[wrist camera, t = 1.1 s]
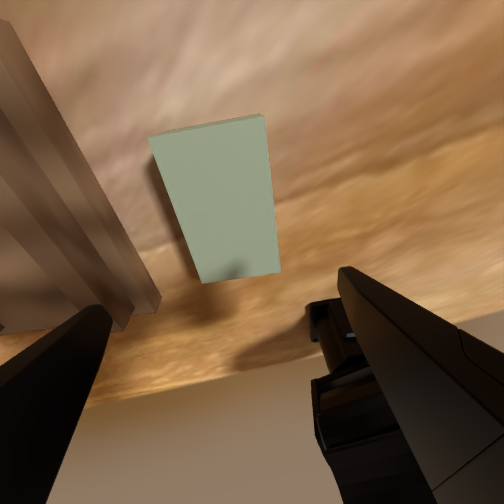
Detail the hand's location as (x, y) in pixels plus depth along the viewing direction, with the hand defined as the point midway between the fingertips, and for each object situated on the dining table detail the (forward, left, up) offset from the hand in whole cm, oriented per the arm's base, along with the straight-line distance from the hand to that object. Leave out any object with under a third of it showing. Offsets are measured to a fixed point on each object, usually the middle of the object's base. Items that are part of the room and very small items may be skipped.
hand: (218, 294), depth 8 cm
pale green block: (0, 0, -11) cm, 11 cm away
